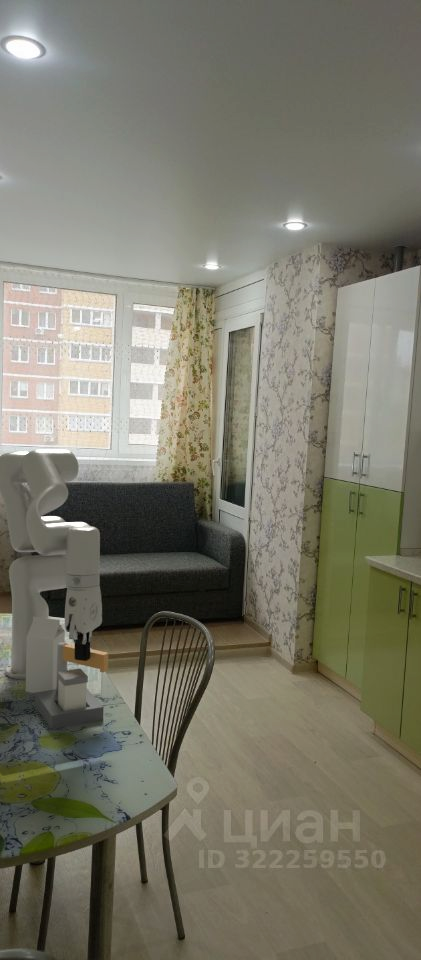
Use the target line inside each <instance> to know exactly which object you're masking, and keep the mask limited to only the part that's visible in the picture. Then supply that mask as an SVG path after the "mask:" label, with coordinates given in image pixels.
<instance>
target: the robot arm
mask: <svg viewBox="0 0 421 960" xmlns="http://www.w3.org/2000/svg"><path fill="white" fill-rule="evenodd" d="M79 467H80V466H79V463H78V458H77V457H76V456H75V453H73V452H72V451H71V450H69V449H34V450H31V451H9V452H6V453H5V452H4V453H2V454H1V455H0V496H1V498H2V500H3V502H4V506H5V512H6V513H5V514H6V519H7V520H6V521H7V527H8V535H9V539H10V540H9V541H10V545H11V547H12V548H13V550H15V552H18V553H34V552H36V553H37V554H38V555H29V556H27V555H26V556H23V557H22V556H21V557H19V558H17V559H15V560H13V561H12V563H11V564H10V565H9V569H8V576H9V577H8V578H9V584H10V590H11V603H12V604H11V605H12V607H11V609H12V610H11V657H10V658H11V661H10V663H9V664H8V665H6V666H5V668H4V669H5V672H4V673H5V675H6V676H8V678H9V677H10V678H12V679H15V680H17V679H18V680H26V647H27V635H28V632H29V630H30V627H31V625H32V622H33V617H39V618H49V617H50V616H49V615H50V614H49V613H50V611H49V605H48V603H47V601H46V600H45V599H44V598H43V597H42V595H41V592H45V591H52V590H60V589H65V588H66V595H65V606H64V631H66V632H67V633H68V640H72V641H73V643H74V645H75V660H81V661H87V660H88V659H90V649H91V641H92V636H93V635H92V634H93V631H94V630H95V629H97V628H98V627H100V626H101V624H102V622H103V603H102V593H101V592H102V591H101V586H100V584H101V583H100V572H101V570H100V566H101V565H100V564H101V563H100V561H101V559H100V558H101V557H100V556H101V555H100V554H101V552H100V551H101V550H100V549H101V545H100V543H101V533H100V530H99V529H98V528H97V527H95V526H91V525H90V524H88V523H87V522H83V521H70V522H69V521H68V522H67V521H66V520H65V519H64V518H63V517H61V516H57V515H46V514H48V513H50V512H53V511H54V510H57V509H58V508H60V507H61V506H62V505H64V503H65V502H66V501H67V500H68V497H69V489H68V487H67V485H66V483H68V482H72V481H74V480H75V479H76V478H77V477H78V474H79ZM23 483H27V485H28V488H27V487H26V486H25V485H23ZM44 515H45V516H44ZM49 619H50V618H49Z"/></svg>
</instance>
